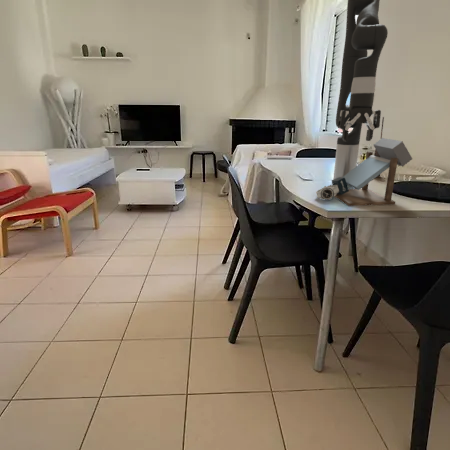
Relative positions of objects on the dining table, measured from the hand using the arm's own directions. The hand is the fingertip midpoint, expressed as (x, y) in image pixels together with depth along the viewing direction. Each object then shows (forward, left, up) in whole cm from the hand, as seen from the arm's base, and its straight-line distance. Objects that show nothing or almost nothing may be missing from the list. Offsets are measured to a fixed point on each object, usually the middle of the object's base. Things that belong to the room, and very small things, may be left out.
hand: (356, 141), depth 117 cm
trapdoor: (0, +10, -12) cm, 16 cm away
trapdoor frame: (0, +3, -21) cm, 21 cm away
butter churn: (-38, +31, -21) cm, 53 cm away
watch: (-2, -2, -16) cm, 16 cm away
